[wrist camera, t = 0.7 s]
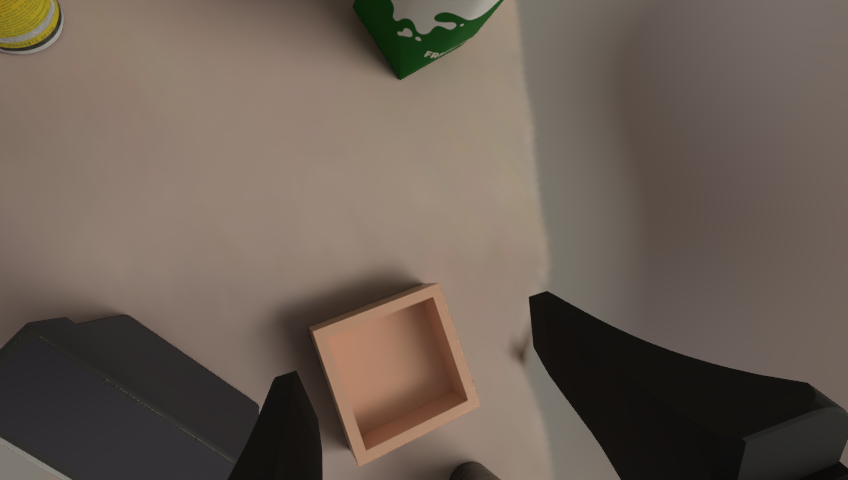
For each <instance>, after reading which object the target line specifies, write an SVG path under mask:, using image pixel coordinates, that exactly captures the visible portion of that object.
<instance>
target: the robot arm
mask: <svg viewBox="0 0 848 480" xmlns="http://www.w3.org/2000/svg"><path fill="white" fill-rule="evenodd" d="M529 304H530V314H531V325H532V335H533V346H534V349H535V350H536V352H537V354H538V356H539V358H540V360H541V361H542V363H543V365H544V367H545V368H546V370H547V372H548V374H549V375H550V377H551V378H552V380H553V381H554V382H555V383H556V385H557V386H558V388H559V389H560V391H561V392H562V393H563V395H564V396H565V397H566V399H567V400H568V401H569V403H570V404H571V405H572V407H573V408H574V409H575V411H576V412H577V413H578V415H579V416H580V418H581V419H582V420H583V421H584V423H585V424H586V425H587V427H588V428H589V430H590V431H591V432H592V434H593V435H594V437H595V438H596V440H597V441H598V443H599V444H600V446H601V447H602V449H603V450H604V452H605V454H606V455H607V457H608V459H609V460H610V462H611V464H612V465H613V467H614V469H615V470H616V472H617V474H618V475H619V477H620V479H621V480H848V468H847V467H845V466H844V465H843V464H842V463H841V462H840V461H839V460H840V457H841V455H842V452H843V450H844V447H845V445H846V442H847V440H848V413H847V412H846V411H845V410H844V409H843V408H842V407H840V406H839V405H837V404H836V403H835V402H833V401H832V400H831V399H829V398H828V397H826V396H825V395H824V394H822V393H821V392H820V391H818V390H817V389H815V388H814V387H813V386H811V385H810V384H808V383H805V382H799V381H793V380H787V379H781V378H775V377H769V376H764V375H758V374H754V373H749V372H745V371H740V370H736V369H731V368H727V367H723V366H719V365H716V364H712V363H709V362H705V361H702V360H698V359H695V358H692V357H688V356H685V355H682V354H679V353H676V352H673V351H670V350H668V349H665V348H662V347H660V346H657V345H654V344H652V343H649V342H646V341H644V340H642V339H639V338H637V337H635V336H632V335H630V334H628V333H626V332H624V331H621V330H619V329H617V328H615V327H613V326H611V325H609V324H607V323H605V322H603V321H601V320H599V319H597V318H595V317H593V316H591V315H590V314H588V313H586V312H584V311H582V310H580V309H578V308H577V307H575V306H573V305H571V304H570V303H568V302H565V301H564V300H562V299H561V298H559V297H557V296H555V295H553V294H552V293H550V292H548V291H546V292H543V293H540V294H536V295H533V296H530V297H529ZM227 480H322V447H321V439H320V431H319V424H318V418H317V416H316V414H315V411H314V409H313V407H312V405H311V402H310V400H309V398H308V396H307V393H306V391H305V389H304V387H303V384H302V382H301V380H300V378H299V375H298V373H297V371H294V372H291V373H288V374H284V375H281V376H278V377H275V379H274V380H273V382H272V385H271V387H270V390H269V392H268V395H267V397H266V400H265V402H264V405H263V407H262V409H261V412H260V414H259V416H258V419H257V421H256V423H255V425H254V427H253V430H252V432H251V434H250V436H249V438H248V440H247V443H246V445H245V447H244V449H243V451H242V453H241V454H240V456H239V458H238V460H237V462H236V464H235V466H234V468H233V470H232V472H231V474H230V475H229V477H228V479H227Z"/></svg>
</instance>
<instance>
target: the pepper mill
mask: <svg viewBox="0 0 848 480" xmlns="http://www.w3.org/2000/svg"><path fill="white" fill-rule="evenodd" d="M449 480H500V479H499V478H498V477H497V476H495V475H494V474H493V473H492V472H491V471H489V470H488V469H487V468H486V467H484V466H483V465H482V464H480V463H477V462H466V463H464V464H462V465H460V466H459V467H457V468H456V469H455V470H454V471H453V473H452V474H451V476H450V478H449Z"/></svg>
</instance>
